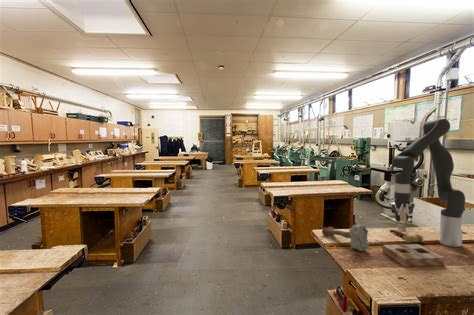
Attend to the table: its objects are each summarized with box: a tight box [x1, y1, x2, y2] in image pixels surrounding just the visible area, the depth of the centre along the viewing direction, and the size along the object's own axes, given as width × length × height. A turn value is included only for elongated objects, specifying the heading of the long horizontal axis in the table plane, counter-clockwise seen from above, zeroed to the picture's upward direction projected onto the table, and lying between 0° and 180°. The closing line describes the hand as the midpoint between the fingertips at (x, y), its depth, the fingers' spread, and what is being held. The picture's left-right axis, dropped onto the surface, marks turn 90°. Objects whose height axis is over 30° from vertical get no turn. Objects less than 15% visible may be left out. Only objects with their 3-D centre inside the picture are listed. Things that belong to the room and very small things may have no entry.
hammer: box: [321, 223, 370, 252], centre depth 143 cm, size 15×10×30 cm
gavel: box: [389, 229, 424, 244], centre depth 153 cm, size 21×5×10 cm
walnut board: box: [382, 243, 445, 268], centre depth 123 cm, size 20×16×4 cm
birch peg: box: [396, 207, 407, 233], centre depth 135 cm, size 4×4×14 cm
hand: (401, 220), depth 135 cm, fingers closed on birch peg, 4 cm apart
